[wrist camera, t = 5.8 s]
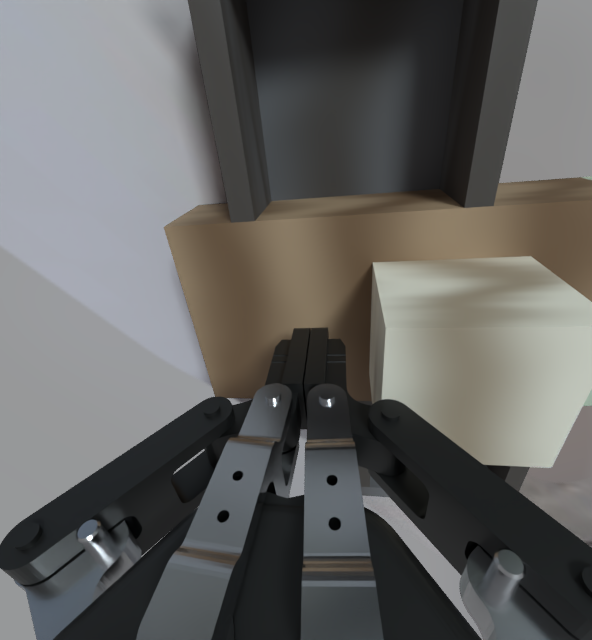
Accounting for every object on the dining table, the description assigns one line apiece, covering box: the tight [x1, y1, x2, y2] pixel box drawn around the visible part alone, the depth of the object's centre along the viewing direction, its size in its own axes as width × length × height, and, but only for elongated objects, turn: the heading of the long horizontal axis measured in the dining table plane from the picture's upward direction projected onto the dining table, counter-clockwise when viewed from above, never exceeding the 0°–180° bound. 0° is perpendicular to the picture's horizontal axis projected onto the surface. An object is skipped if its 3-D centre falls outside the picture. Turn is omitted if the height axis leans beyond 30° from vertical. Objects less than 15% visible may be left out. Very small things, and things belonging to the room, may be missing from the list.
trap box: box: [164, 0, 592, 497], centre depth 15 cm, size 27×28×7 cm
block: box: [369, 256, 592, 468], centre depth 13 cm, size 6×6×5 cm
